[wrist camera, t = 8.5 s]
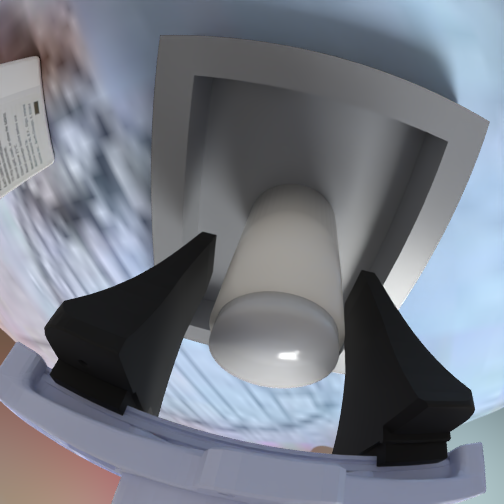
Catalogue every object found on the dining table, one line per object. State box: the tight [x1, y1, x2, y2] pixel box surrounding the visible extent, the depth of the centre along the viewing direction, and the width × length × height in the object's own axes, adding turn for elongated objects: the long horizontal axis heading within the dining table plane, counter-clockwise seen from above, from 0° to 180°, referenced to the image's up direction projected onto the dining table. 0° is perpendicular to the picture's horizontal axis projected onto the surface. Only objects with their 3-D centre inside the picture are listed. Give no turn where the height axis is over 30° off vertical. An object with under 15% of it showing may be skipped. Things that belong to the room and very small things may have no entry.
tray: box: [151, 35, 490, 374], centre depth 15 cm, size 13×17×3 cm
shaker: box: [209, 184, 345, 388], centre depth 12 cm, size 4×4×8 cm
